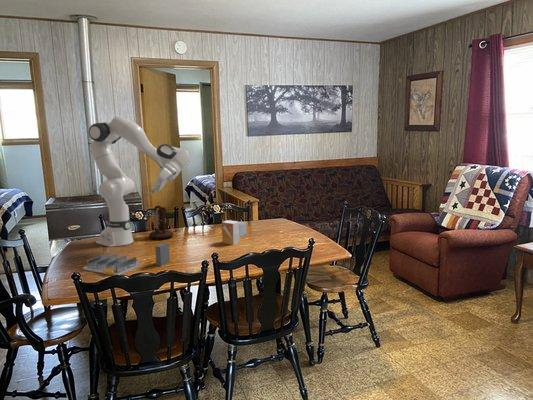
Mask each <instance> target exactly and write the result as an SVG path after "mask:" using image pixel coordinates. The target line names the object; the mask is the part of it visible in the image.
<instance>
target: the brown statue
mask: <svg viewBox="0 0 533 400" xmlns="http://www.w3.org/2000/svg"><path fill="white" fill-rule="evenodd" d="M153 213H154V217H153V218H154V220H153V221H154V222H153V223H154V224H153V225H154V229H156V230H153V231H151V232H150V233H149V235H148V236H149V238H152V239H156V240H157V241H158V240H159V239H165V238H173V235H174V231H172V230H170V229H167V228H168V224H167V222H166V217H165V215H167V209H166V207H165V206H164V207H163V206H161V205H155V206H154V208H153Z"/></svg>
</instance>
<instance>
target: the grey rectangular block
mask: <svg viewBox="0 0 533 400" xmlns="http://www.w3.org/2000/svg"><path fill="white" fill-rule="evenodd" d="M169 243H170V242H169ZM169 243H168V242H163V243H160V244H158V245H155V247H154V248H155V249H154V250H155V264H156V267H163V266H165V265H167V264H170V262H171V257H170V244H169Z"/></svg>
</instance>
